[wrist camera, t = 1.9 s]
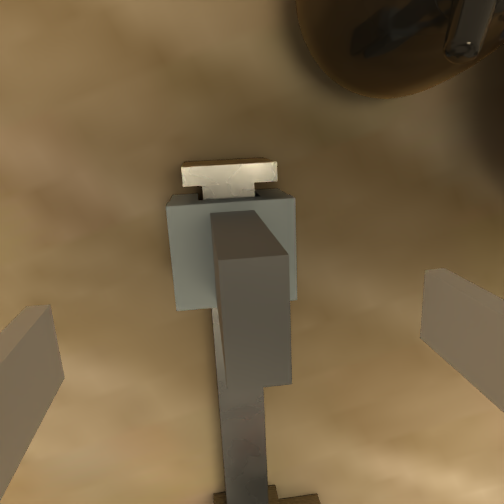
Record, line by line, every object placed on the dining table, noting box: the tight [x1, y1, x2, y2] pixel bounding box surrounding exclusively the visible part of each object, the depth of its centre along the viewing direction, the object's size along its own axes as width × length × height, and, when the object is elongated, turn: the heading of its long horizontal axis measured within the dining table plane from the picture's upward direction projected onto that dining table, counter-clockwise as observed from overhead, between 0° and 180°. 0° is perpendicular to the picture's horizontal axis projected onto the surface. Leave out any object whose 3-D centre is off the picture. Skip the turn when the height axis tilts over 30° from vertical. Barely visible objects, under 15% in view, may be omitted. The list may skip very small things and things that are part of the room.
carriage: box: [166, 188, 297, 392], centre depth 21 cm, size 7×6×14 cm
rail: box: [181, 158, 279, 504], centre depth 28 cm, size 5×27×5 cm, turn 3°
